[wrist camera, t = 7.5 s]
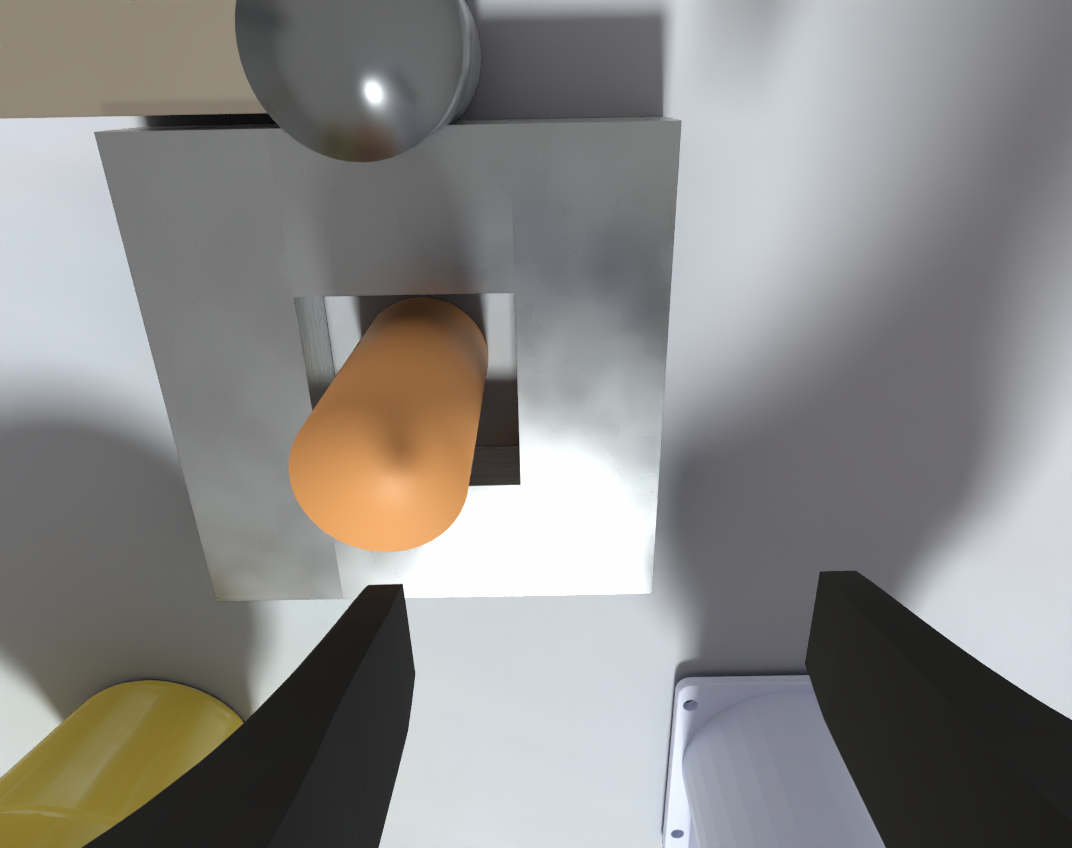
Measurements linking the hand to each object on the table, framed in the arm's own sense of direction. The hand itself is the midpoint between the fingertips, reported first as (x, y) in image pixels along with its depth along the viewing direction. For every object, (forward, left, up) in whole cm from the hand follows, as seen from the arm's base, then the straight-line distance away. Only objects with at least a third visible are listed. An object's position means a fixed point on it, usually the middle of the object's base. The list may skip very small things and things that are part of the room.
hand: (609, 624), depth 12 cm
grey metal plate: (+3, +8, -10) cm, 13 cm away
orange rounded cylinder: (+1, +4, -10) cm, 11 cm away
